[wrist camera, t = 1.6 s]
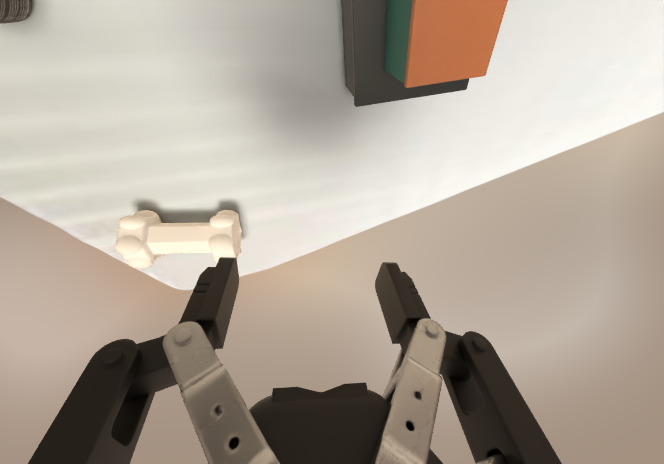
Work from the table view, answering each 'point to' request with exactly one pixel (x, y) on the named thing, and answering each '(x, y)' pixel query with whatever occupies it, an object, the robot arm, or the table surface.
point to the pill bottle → (14, 10)
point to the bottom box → (376, 57)
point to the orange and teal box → (440, 39)
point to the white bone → (176, 237)
